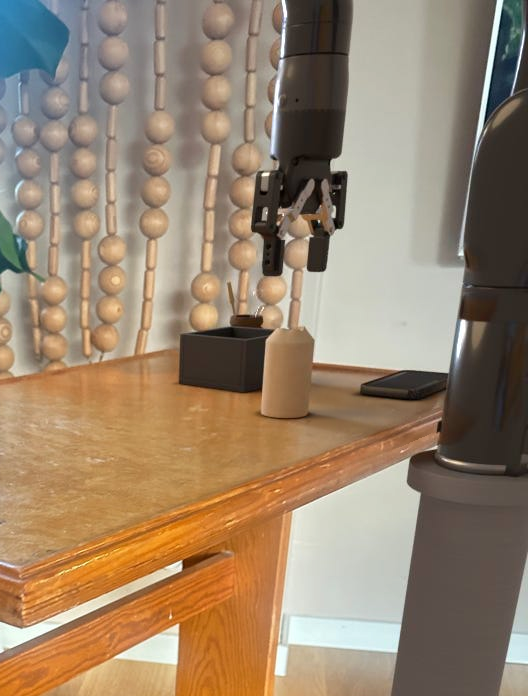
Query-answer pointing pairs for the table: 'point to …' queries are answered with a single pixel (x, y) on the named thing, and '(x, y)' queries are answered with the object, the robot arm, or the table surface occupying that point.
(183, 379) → the bin
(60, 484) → the table surface
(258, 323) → the utensil holder
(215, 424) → the table surface
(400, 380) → the phone
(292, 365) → the candle
